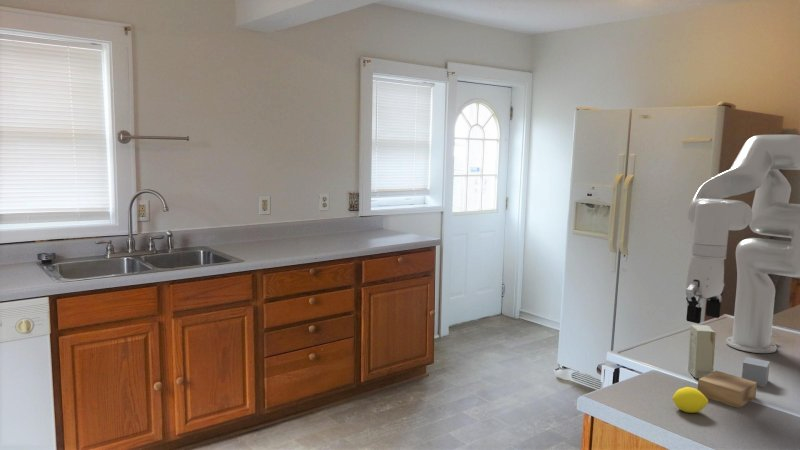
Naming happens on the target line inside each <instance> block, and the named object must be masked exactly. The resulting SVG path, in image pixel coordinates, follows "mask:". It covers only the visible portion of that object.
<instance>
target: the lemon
mask: <svg viewBox="0 0 800 450" xmlns="http://www.w3.org/2000/svg"><path fill="white" fill-rule="evenodd" d="M672 401H673V402H674V404H675V405H676V407H677V408H678V409H679V410H681V411H683V412H685V413H690V414H691V413H692V414H694V413H699V412H700V411H702V410H703V409H704V408H705V407H706V406H707V404H709V398H706V397H705V396H704V395H703V394H702V393H701V392H700V391H699V390H698V388H695V387H692V386H691V387H690V386H685V387H681V388H679V389H677V390H676V391H675V393H674V394H673V396H672Z"/></svg>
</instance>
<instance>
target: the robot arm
mask: <svg viewBox="0 0 800 450" xmlns="http://www.w3.org/2000/svg"><path fill="white" fill-rule="evenodd" d="M737 154H738V155H737V156H736V158H735V159H734V161H733V163H732V165H731V166H730V168H729V169H728V170H725V171H723V172H721V173H718V174H717V175H715V176H713V177H711V178H710V179H708V180H707V181H705V182H704V183H702V184H701V185H700V186H699V188H698V189H697V191H696V192H695V194H694V195H693V197H692V199H691V200H690V203H689V205H688V209H687V218H688V220H689V222H690V223H691V224H692V225H693V235H692V236H693V237H692V246H691V258H690V262H689V266H688V271H687V272H688V273H687V275H686V276H687V277H686V278H687V279H686V285H685V295H686V299H685V300H686V305H687V306H686V307H687V309H686V322H689V323H695V324H697V325H700V324H701V321H702V320H701V319H702V309H703V308H702V307H701V305H702V303H703V301H704V300H705V299H707V300H706V305H705V316H706V317H711V318H716V319H719V318H720V316H721V304H722V301H723V298H722V296H723V294H724V289H725V288H724V287H725V285H726V284H725V282H724V280H725V260H727V252H728V251H727V250H728V243H729V242H728V239H729V231H742V230H744V229H746V228H748V226H749V229H750V230H751V231H752V232H753V233H754V234H758V235H761V236H763V235H764V236H770V237H780V238H789V239H791V241H785V240H779V239H778V240H777V239H769V238H761V237H748V238H745V239H742V240H740V241H739V242H738V243H737V245H736V249H735V261H736V263H735V264H736V272H737V274H736V276H737V277H736V289H735V291H736V293H735V301H734V302H735V303H734V314H733V326H732V335H731V336H728V337H727V338H726V339H725V344H726V345H727V346H729V347H731V348H733V349H736V350H740V351H744V352H748V353H749V352H750V353H754V354H755V353H756V354H772V353H775V352H777V344H775V343H773V342H772V336H773V334H774V331H773V330H772V329H773V320H774V318H773V317H774V310H775V309H774V308H775V301H776V300H775V297H776V287H775V283H774V282H773V280H772V278H771V277H770V276H769V275H776V276H777V275H778V276H784V277H791V278H800V203H789V201H790V198H791V192H792V186H791V184H790V182H789V181H788V179H787V178H786V177H785V175H784V174H783V173H782V172H781V171H780V170H784V171H785V170H791V171H800V135H798V134H758V135H753V136H751V137H750V138H748V139H747V140H746V141H745V142H744V144H743V145H742V147H741V149H740V151H739V152H738V153H737ZM753 191H755V192H754V196H753V197H754V198H753V200H752V201H753V202H752V205H751V206H750V205H749V203H746V202H745V201H743V200H737V199H725V198H729V197H733V196H738V195H742V194H747V193H749V192H753Z"/></svg>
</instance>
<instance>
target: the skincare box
mask: <svg viewBox="0 0 800 450" xmlns="http://www.w3.org/2000/svg"><path fill="white" fill-rule="evenodd" d="M689 330H690V331H689V346H688V362H687V371H688V370H689V371H688V372H689V374H692V375H693V376H694V377H695V378H694V377H693V378H694V379H700V378H702V377H704V376H706V375H708V374H710V373H712V372H714V366H715V365H714V363H715V349H716V346H715V345H716V334H717V333H716V331H715V330H714V329H713V328H712V327H711V326H709V325H705V324H690V329H689ZM692 375H691V376H692Z"/></svg>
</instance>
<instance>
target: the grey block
mask: <svg viewBox="0 0 800 450" xmlns="http://www.w3.org/2000/svg"><path fill="white" fill-rule="evenodd" d="M770 363H771V361H768V360H763V359H759V358H753V357H749V356H746V357H745V359H744V360H743V362H742V370H741V371H742V373H741V378H744V379H747V380H751V381H754V382H757V386H758V385H760V386H759V387H763V386H764V388H766V386H767V385H768V381H769V373H770Z"/></svg>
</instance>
